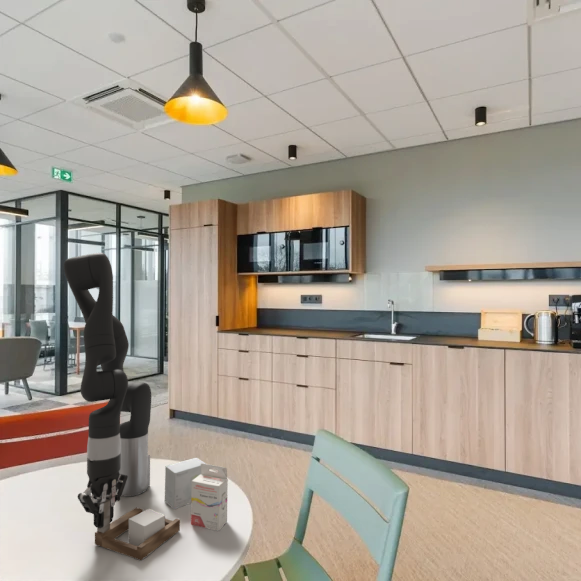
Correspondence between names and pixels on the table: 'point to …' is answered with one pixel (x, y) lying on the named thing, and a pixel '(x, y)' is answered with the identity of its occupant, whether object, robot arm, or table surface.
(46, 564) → the table surface
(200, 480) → the ink cartridge box
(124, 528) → the pull frame
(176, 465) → the skincare box
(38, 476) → the table surface
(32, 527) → the table surface
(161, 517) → the white cube
